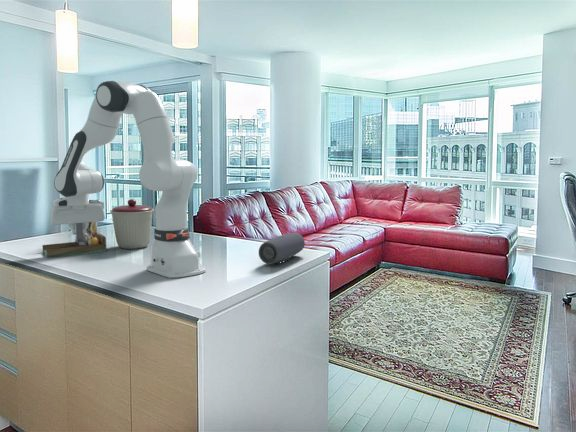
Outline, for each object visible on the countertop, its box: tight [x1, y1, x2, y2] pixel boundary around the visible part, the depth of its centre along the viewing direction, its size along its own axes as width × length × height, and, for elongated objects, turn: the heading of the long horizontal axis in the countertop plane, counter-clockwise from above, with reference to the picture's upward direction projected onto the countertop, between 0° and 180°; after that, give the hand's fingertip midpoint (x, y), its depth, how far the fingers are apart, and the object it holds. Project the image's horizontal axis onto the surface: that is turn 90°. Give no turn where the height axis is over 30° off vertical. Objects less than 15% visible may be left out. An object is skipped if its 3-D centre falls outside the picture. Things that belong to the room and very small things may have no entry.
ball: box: [91, 238, 100, 245], centre depth 188 cm, size 4×4×4 cm
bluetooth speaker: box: [258, 232, 306, 265], centre depth 171 cm, size 23×9×10 cm, turn 152°
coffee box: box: [82, 222, 99, 241], centre depth 199 cm, size 9×6×16 cm
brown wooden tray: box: [42, 232, 107, 259], centre depth 183 cm, size 12×22×7 cm, turn 126°
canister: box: [109, 198, 155, 250], centre depth 193 cm, size 18×18×21 cm
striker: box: [74, 223, 85, 247], centre depth 184 cm, size 8×2×11 cm, turn 36°
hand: (79, 233), depth 184 cm, fingers closed on striker, 2 cm apart
